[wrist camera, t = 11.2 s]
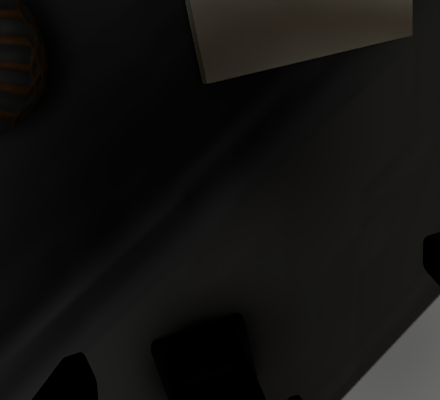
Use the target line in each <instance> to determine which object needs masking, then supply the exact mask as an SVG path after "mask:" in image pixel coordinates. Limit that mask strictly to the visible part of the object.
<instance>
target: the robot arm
mask: <svg viewBox="0 0 440 400" xmlns="http://www.w3.org/2000/svg"><path fill="white" fill-rule="evenodd" d="M423 265H424V268H425V270H426V271H427V273H428V274H429V275H430V276H431V277H432V278H433V279H434V280H435V281H436V282H437V283H438V284H439V285H440V232H439V233H435V234H432V235H429V236H427V237H425V239H424V241H423ZM238 320H239V321H238ZM235 321H238V322H237V323H234V322H235ZM157 348H161V349H159V350H157ZM151 352H152V356H153V358H154V361H155V364H156V367H157V369H158V372H159V375H160V377H161V380H162V383H163V386H164V388H165V391H166V394H167V396H168V399H169V400H266V399H265V396H264V394H263V392H262V389H261V387H260V385H259V382H258V380H257V376H256V371H255V367H254V362H253V358H252V353H251V349H250V345H249V340H248V336H247V331H246V327H245V323H244V320H243V318H242V316H241V315H240V314H234V315H231V316H228V317H225V318H222V319H219V320H216V321H213V322H210V323H207V324H205V325H202V326H199V327H196V328H193V329H190V330H187V331H184V332H181V333H178V334H175V335H172V336H169V337H166V338H164V339H161V340H158V341H155V342H154V343H153V344H152V345H151ZM32 400H98V391H97V382H96V378H95V376H94V374H93V372H92V369H91V367H90V365H89V363H88V361H87V359H86V357H85V355H84V354H83V353H81V352H79V353H76V354H73V355H70V356H67V357H65V358H63V359H62V360H61V362H60V363H59V364H58V366H57V367H56V368H55V370H54V371H53V372H52V374H51V375H50V376H49V378H48V379H47V380H46V382H45V383H44V384H43V386H42V387H41V388H40V390H39V391H38V392H37V394H36V395H35V396H34V397H33V399H32ZM288 400H302V399H301V397H300V396H299V395H295V396H292V397H289V399H288Z"/></svg>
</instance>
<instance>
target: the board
mask: <svg viewBox="0 0 440 400" xmlns="http://www.w3.org/2000/svg"><path fill="white" fill-rule="evenodd" d="M185 3H186V8H187V13H188V17H189V22H190V27H191V31H192V36H193V41H194V45H195V50H196V55H197V59H198V64H199V69H200V73H201V78H202V83H205V84H209V83H213V82H217V81H221V80H226V79H230V78H234V77H238V76H243V75H247V74H251V73H255V72H259V71H264V70H268V69H272V68H276V67H281V66H285V65H289V64H293V63H297V62H302V61H306V60H310V59H314V58H319V57H323V56H327V55H331V54H335V53H340V52H344V51H348V50H352V49H357V48H361V47H365V46H369V45H373V44H378V43H382V42H386V41H390V40H395V39H399V38H403V37H407V36H411V35H412V0H185Z"/></svg>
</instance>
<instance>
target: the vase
mask: <svg viewBox="0 0 440 400" xmlns="http://www.w3.org/2000/svg"><path fill="white" fill-rule="evenodd" d="M46 76H47V55H46V48H45V44H44V40H43V37H42V34H41V32H40V29H39V27H38V25H37V23H36V20H35V19H34V17H33V15H32V13H31V12H30V10H29V9H28V7H27V6H26V5H25V3H24V2H23V1H22V0H0V135H1V134H3V133H5V132H7V131H9V130H10V129H12V128H13V127H15V126H16V125H18V124H19V123H20V122H21V121H22V120H23V119H24V118H25V117H27V115H28V114H29V113H30V112H31V111H32V110H33V108H34V107H35V106H36V104H37V102H38V101H39V99H40V97H41V94H42V92H43V89H44V86H45V82H46Z"/></svg>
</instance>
